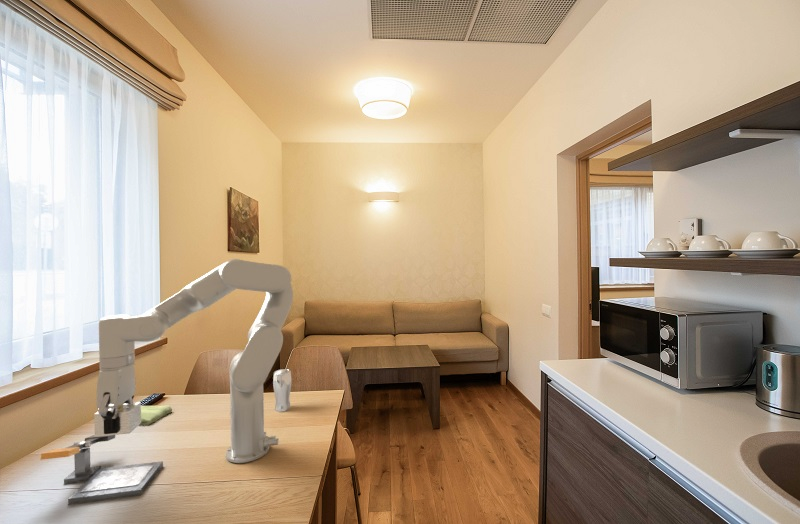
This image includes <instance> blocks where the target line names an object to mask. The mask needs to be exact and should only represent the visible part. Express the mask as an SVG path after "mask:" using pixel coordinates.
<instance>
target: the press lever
mask: <svg viewBox="0 0 800 524" xmlns="http://www.w3.org/2000/svg"><path fill="white" fill-rule="evenodd" d="M114 439H116V435H109V436H98V437H95V434H93V435H90V436H87V437H85V438H84V441H77V442H74V443H73V444H72V445H70V446H67V447H65V448H57V449H56V448H55V449H51V450H48V451H45V452H42V453H41V454H40V455H41V457H40V461H43V460H49V459H61V458H68V457H71V456H73V455H74V454H76V453H79V449H84V448H90V447H91V446H92V445H94V444H96V443H101V442H109V441H111V440H114Z"/></svg>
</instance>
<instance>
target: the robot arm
mask: <svg viewBox="0 0 800 524" xmlns="http://www.w3.org/2000/svg"><path fill="white" fill-rule="evenodd" d="M236 289H237V290H241V291H242V290H243V291H244V290H245V291H251V292H261V293H265V298H264V301H263V304H262V306H261V308H260V310H259V312H258V314H257V316H256V317H255V320H254V322H253V323H252V325H251V327H250V328H249V330H248V332H247V344H246V346H245V347H244V350H243V351H239V352H238V353H237V354H236V355H234V357H233V358H232V359H231V361H230V364H229V370H228V371H229V372H228V373H229V388H230V446H229V447H228V449H227V450H226V451H225V459H226V460H227V461H228V462H231V463H236V464H243V463H249V462H253V461H256V460H258V459H261V457H263V456H265V455H266V454H267V453H268V452H269V451H270V446H278V445H279V442H280V440H279V438H276V437H277V435H271V436H269V435H267V431H265V421H264V420H265V417H264V416H265V415H264V412H265V411H264V406H265V405H264V403H265V402H264V394H265V393H264V383H265V382H266V380H267V378H268V377H269V374H270V372H271V370H272V369H273V366H274V364H275V362H276V360H277V358H278V356H279V354H280V352H281V350H282V347H283V343H284V335H283V332H282V328H283V326H284V325H285V322H286V319H287V318H288V315H289V313H290V311H291V309H292V305H293V298H294V292H293V287H292V274H291V272H290V271H289V270H288V268H286V267H285V266H283V265H280V264H270V263H264V262H256V261H249V260H243V259H240V258H239V259H238V258H232V259H230V260H229V259H228V260H227V261H225V262H223V263H222V264H220V265H218V266H217V267H215V268H213V269H211V270H210V271H209V272H207V273H205V274H204V275H202V276H201V277H199V278H197V279H196V280H194V281H192V282H190V283H189V284H187V285H186V286H185V287H183V288H182V289H181V290H180V291H178V292H177V293H175V294H173V295H172V296H171V297H169V298H167V299H166V300H164V301H162V302H161V303H159V304H158V305H156V306H153V308H151V309H148V310H147V311H146V312H144V313H143V314H141V315H138V316H137V315H135V316H132V315H131V314H113V315H107V316H104V317H102V318H100V320H99V322H98V346H99V347H98V350H99V351H98V355H99V359H98V360H99V362H98V363H99V373H98V377H97V383H96V397H95V398H96V399H95V400H96V401H95V402H96V406H95V407H96V408H97V409H98V410H97V412H98V413H99V414H100V415H101V416H102V420H104V434H113V433H118V432H119V417H117V412H118V407H119V406H120V405H121V404H123V403H134V401H133V400H134V398H135V394H136V391H137V390H136V384H137V383H136V371H135V365H136V358H135V357H136V353H135V342H141V343H142V342H143V343H146V342H147V343H149V342H153V341H156V340H159V339H160V338H161V337H162V336H163V335H164V334H165V332H166V331H167V330H168V329H170V328H171V327H172V326H174V325H175V324H177V323H179V322H180V321H181V320H183V319H185V318H187V317H188V316H190V315H192V314H194V313H197V312H200V311H203V310H206V309H207V308H209V307H211V306H212V305H214V304H215V303H217V302H218V301H219V300H221V299H223V298H225V296H228V295H229V294H230V293H231V292H234V291H235V290H236ZM110 404H114V405H113V406H109V405H110ZM109 409H113V413H112V412H111V411H108V410H109Z"/></svg>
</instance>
